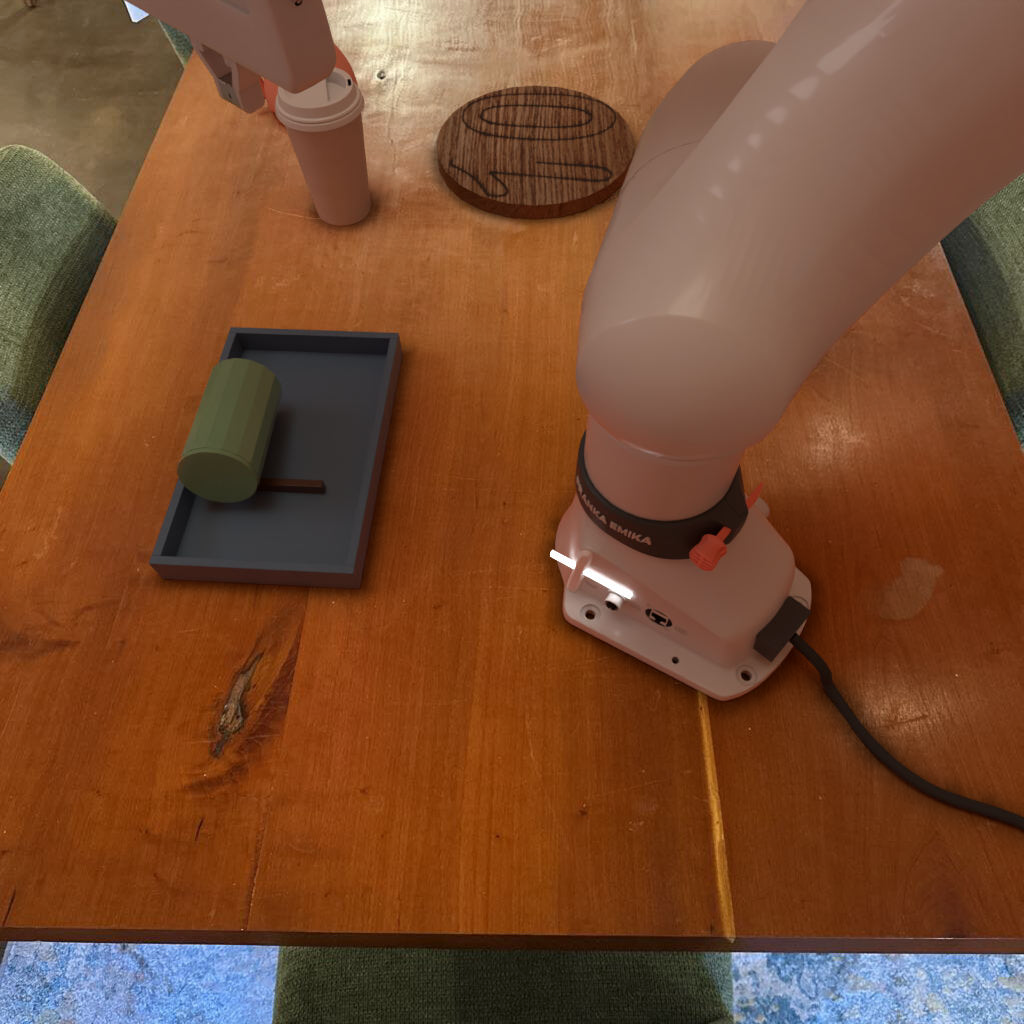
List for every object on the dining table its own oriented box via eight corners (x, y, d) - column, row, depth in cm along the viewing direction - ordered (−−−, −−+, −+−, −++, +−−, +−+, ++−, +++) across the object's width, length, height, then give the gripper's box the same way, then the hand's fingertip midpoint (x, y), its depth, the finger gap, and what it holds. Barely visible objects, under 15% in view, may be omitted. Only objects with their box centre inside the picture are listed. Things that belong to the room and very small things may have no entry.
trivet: (638, 219, 91) (640, 205, 90) (430, 219, 92) (428, 205, 90) (626, 98, 104) (628, 84, 103) (444, 99, 105) (442, 85, 103)
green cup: (233, 446, 63) (262, 352, 71) (160, 458, 64) (196, 365, 72) (270, 497, 68) (293, 404, 76) (202, 507, 69) (231, 415, 77)
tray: (359, 589, 67) (353, 573, 64) (162, 579, 67) (148, 563, 65) (402, 353, 81) (398, 332, 78) (239, 347, 82) (230, 326, 79)
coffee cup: (370, 238, 90) (344, 117, 77) (293, 229, 91) (255, 107, 78) (392, 188, 95) (372, 65, 82) (320, 179, 96) (288, 57, 83)
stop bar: (324, 494, 71) (321, 487, 70) (240, 490, 71) (236, 483, 70) (326, 487, 71) (323, 480, 70) (242, 483, 72) (238, 476, 71)
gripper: (331, -108, 40) (376, 138, 52) (111, -197, 47) (194, 37, 59) (236, -65, 38) (306, 183, 50) (19, -165, 45) (125, 72, 57)
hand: (244, 103), depth 54 cm, fingers closed
